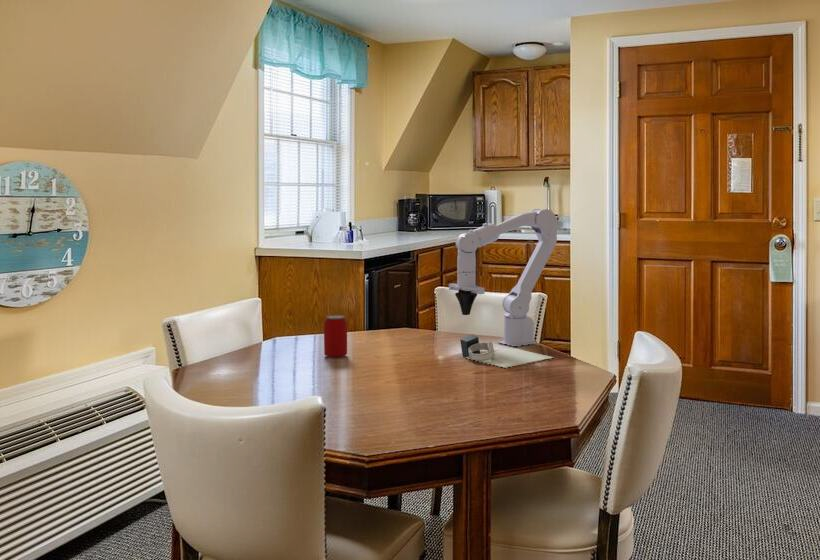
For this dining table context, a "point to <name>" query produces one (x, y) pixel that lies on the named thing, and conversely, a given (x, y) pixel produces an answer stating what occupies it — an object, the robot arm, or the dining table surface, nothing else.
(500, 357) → the mat
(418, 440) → the dining table surface
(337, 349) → the beverage can
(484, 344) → the watch
